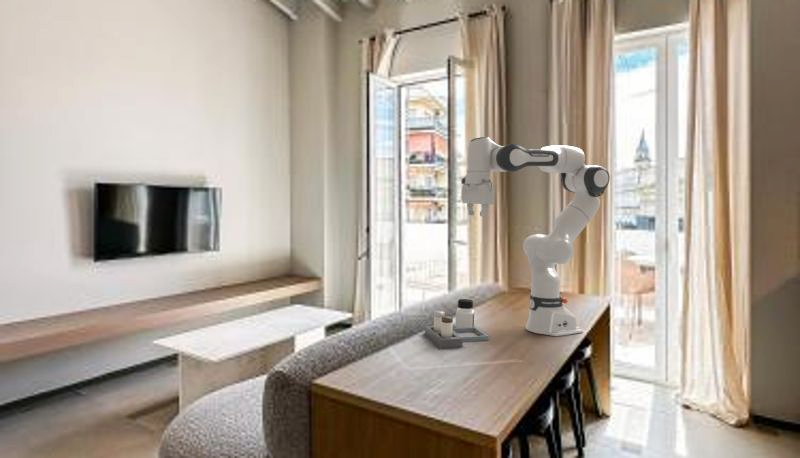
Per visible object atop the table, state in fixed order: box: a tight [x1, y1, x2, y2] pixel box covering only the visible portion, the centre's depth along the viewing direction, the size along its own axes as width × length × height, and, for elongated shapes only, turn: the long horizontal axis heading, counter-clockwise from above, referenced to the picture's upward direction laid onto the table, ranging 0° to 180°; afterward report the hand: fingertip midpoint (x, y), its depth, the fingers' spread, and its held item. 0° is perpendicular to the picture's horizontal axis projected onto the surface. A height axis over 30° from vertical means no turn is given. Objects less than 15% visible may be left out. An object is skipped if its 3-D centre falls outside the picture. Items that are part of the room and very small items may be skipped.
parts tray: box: [452, 326, 489, 343], centre depth 185 cm, size 11×12×2 cm
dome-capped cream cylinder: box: [433, 310, 446, 331], centre depth 183 cm, size 4×4×10 cm
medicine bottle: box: [454, 298, 475, 328], centre depth 199 cm, size 7×7×12 cm
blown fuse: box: [441, 315, 454, 338], centre depth 175 cm, size 4×4×10 cm
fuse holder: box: [420, 325, 467, 350], centre depth 179 cm, size 20×10×4 cm, turn 15°
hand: (476, 215), depth 187 cm, fingers open, 8 cm apart
